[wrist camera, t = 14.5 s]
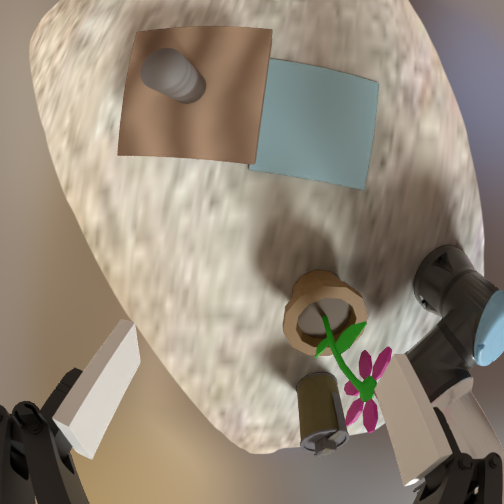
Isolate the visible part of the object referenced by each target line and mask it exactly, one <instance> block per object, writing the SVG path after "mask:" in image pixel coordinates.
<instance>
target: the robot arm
mask: <svg viewBox="0 0 504 504" xmlns="http://www.w3.org/2000/svg"><path fill="white" fill-rule="evenodd" d="M414 292H415V296H416V299H417V300H418V302H419V303H420V304H421V305H422V307H423V308H424V309H426V310H427V311H429V312H432V313H434V314H436V315H439V316H441V317H442V319H441V320H440V321H439V323H438V324H436V325H435V326H434V327H433V328H432V329H431V330H430V331H429V332H428V333H427V334H426V335H425V336H424V337H423V338H422V339H421V340H420V341H419V342H418V343H417V344H416V345H415V346H414V347H412V348H411V349H410V350H409V351H407V352H406V353H405V354H394V355H393V357H392V359H391V361H390V362H389V364H388V366H387V368H386V370H385V372H384V373H383V375H382V377H381V379H380V380H379V382H378V384H377V385H376V387H375V389H374V390H375V393H376V396H377V399H378V402H379V404H380V407H381V410H382V413H383V417H384V420H385V423H386V426H387V429H388V432H389V435H390V439H391V442H392V445H393V449H394V452H395V455H396V459H397V463H398V466H399V470H400V474H401V477H402V481H403V485H404V486H406V485H410V484H414V483H417V482H418V481H419V480H421V479H422V478H424V477H425V482H424V483H422V484H421V485H419V486H418V487H417V488H415V489H414V491H413V492H416V491H417V490H419V489H420V490H419V492H418V493H417V497H416V499H415V500H414V503H413V504H504V449H503V447H502V445H501V443H500V441H499V439H498V437H497V435H496V433H495V431H494V430H493V428H492V426H491V424H490V422H489V421H488V419H487V417H486V416H485V414H484V412H483V410H482V409H481V407H480V405H479V404H478V402H477V400H476V399H475V397H474V396H473V394H472V391H471V390H472V385H473V378H472V377H471V375H470V373H469V371H470V370H471V369H472V368H473V367H474V366H475V365H476V364H478V365H481V366H486V365H489V364H490V363H491V361H492V362H493V361H495V360H496V359H497V358H498V357H499V356H500V354H501V353H502V352H503V351H504V292H503V291H502V290H500V289H498V288H497V287H495V285H494V284H492V283H491V282H490V281H488V280H487V279H486V278H485V277H483V276H482V275H481V274H479V273H478V272H477V271H476V270H475V269H474V267H473V265H472V263H471V262H470V260H469V258H468V256H467V255H466V254H465V253H464V252H463V251H462V250H460V249H459V248H457V247H455V246H452V245H445V246H441V247H439V248H437V249H435V250H434V251H433V252H431V253H430V254H429V255H428V256H427V257H426V258H425V260H424V261H423V262H422V264H421V266H420V267H419V269H418V272H417V274H416V278H415V282H414ZM140 362H141V361H140V355H139V348H138V342H137V334H136V326H135V322H131V321H127V320H123V319H121V320H120V322H119V323H118V324H117V326H116V327H115V328H114V330H113V331H112V332H111V334H110V335H109V336H108V338H107V339H106V340H105V342H104V343H103V344H102V346H101V347H100V349H99V350H98V351H97V353H96V354H95V355H94V357H93V358H92V360H91V361H90V362H89V364H88V365H87V367H86V368H85V369H84V371H81V370H79V369H77V368H74V369H72V370H71V371H69V372H68V373H66V374H65V376H64V377H63V378H62V380H61V381H60V383H59V384H58V385H57V387H56V389H55V390H54V391H53V392H52V394H51V395H50V397H49V398H48V399H47V401H46V402H45V404H44V405H43V407H42V408H41V410H39V408H38V407H37V406H36V405H35V404H34V403H32V402H30V401H23V402H20V403H18V404H17V405H16V406H15V407H14V409H13V411H12V414H9V413H8V412H7V411H6V409H5V408H4V407H3V406H1V405H0V504H35V496H36V500H37V503H38V504H89V502H88V499H87V497H86V494H85V492H84V489H83V487H82V485H81V482H80V479H79V476H78V474H77V471H76V468H75V465H74V462H73V459H72V455H71V454H70V450H71V448H72V447H73V448H74V449H75V451H76V452H77V453H79V454H81V455H83V456H85V457H87V458H90V459H93V456H94V454H95V452H96V450H97V448H98V446H99V444H100V441H101V439H102V437H103V435H104V433H105V431H106V429H107V427H108V425H109V423H110V421H111V419H112V417H113V414H114V413H115V411H116V409H117V407H118V405H119V403H120V401H121V399H122V397H123V395H124V393H125V391H126V389H127V387H128V385H129V383H130V381H131V379H132V378H133V376H134V374H135V372H136V370H137V368H138V366H139V364H140Z"/></svg>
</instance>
